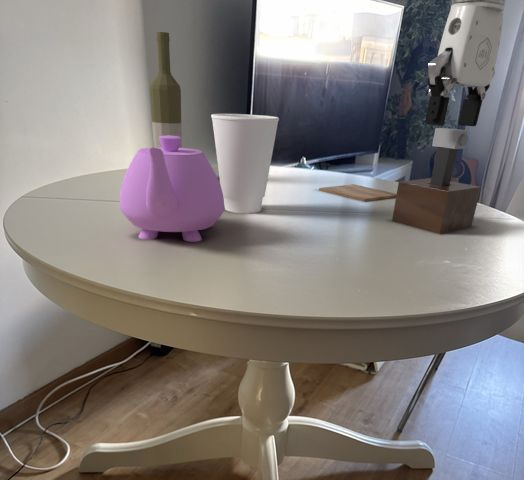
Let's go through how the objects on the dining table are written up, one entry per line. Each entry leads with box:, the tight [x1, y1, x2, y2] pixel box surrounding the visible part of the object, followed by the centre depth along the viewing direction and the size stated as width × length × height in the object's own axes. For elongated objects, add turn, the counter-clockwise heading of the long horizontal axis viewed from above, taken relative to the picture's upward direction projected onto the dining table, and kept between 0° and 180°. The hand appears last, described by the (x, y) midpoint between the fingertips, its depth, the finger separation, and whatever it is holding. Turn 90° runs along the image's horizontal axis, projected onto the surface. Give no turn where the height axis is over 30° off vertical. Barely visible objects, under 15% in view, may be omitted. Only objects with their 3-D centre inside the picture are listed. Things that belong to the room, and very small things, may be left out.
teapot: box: [119, 135, 225, 242], centre depth 70 cm, size 22×16×14 cm
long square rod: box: [430, 127, 469, 186], centre depth 83 cm, size 3×5×16 cm, turn 38°
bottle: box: [149, 31, 183, 148], centre depth 110 cm, size 7×7×30 cm
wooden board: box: [318, 183, 397, 203], centre depth 111 cm, size 12×14×1 cm
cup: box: [210, 113, 280, 214], centre depth 87 cm, size 12×12×16 cm
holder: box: [391, 177, 482, 235], centre depth 86 cm, size 10×10×7 cm
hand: (450, 125), depth 79 cm, fingers open, 9 cm apart
